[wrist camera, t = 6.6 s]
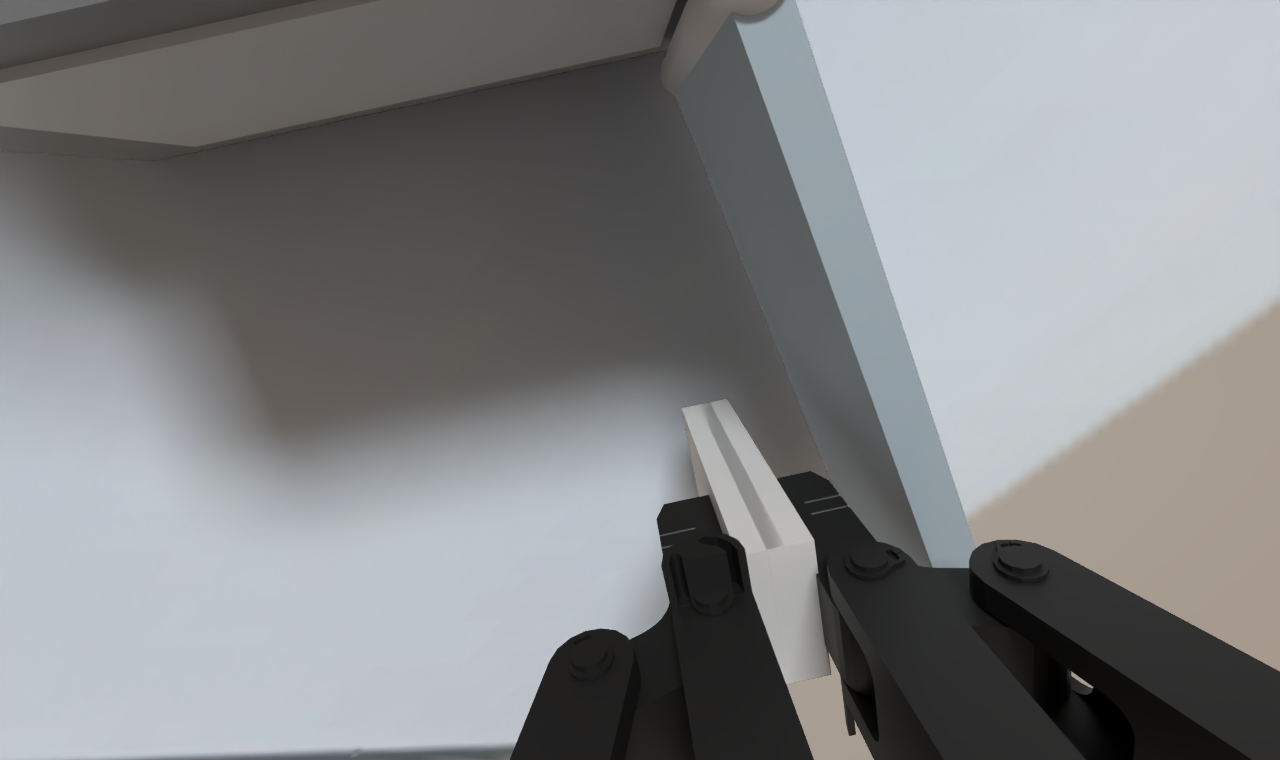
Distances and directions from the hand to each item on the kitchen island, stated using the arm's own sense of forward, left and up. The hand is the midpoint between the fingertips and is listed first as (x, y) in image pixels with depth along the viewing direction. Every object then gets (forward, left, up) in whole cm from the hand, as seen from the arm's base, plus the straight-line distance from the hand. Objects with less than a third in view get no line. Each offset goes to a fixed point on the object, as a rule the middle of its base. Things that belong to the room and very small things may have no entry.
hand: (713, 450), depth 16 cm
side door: (+2, +4, -1) cm, 5 cm away
